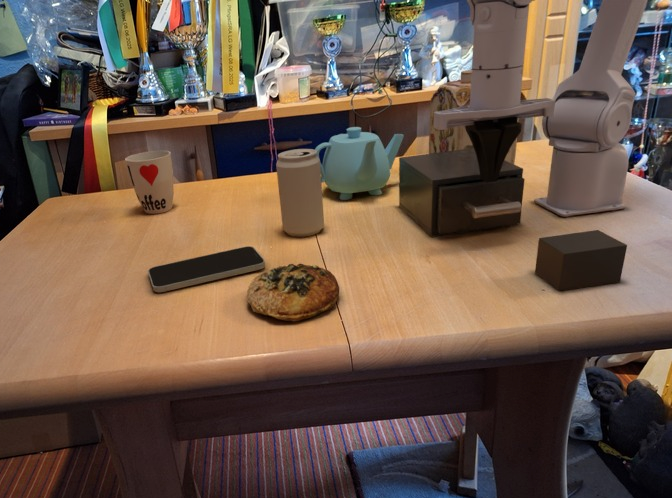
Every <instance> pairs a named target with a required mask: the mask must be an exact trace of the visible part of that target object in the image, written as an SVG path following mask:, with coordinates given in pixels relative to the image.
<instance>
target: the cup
mask: <svg viewBox="0 0 672 498" xmlns="http://www.w3.org/2000/svg"><path fill="white" fill-rule="evenodd" d="M124 161H125V165H126V169H127V172H128V176H129V177H130V179H129V180H130V182H131V185H132V187H133V190H134V192H135V193H134V194H135V196H136V197H137V201H138V202H139V203H140V206H141V207H142V210H143V211H144V212H145V213H146V214H149V215H150V214H151V215H154V214H155V215H156V214H163V213H165V212H168V211H171V210H172V208H173V204H174V203H173V202H174V193H175V191H174V190H175V189H174V187H175V186H174V171H173V162H172V161H173V160H172V154H171V151H169V150H151V151H143V152H138V153H134V154H131V155H129V156H126V157H125V158H124Z"/></svg>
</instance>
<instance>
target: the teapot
mask: <svg viewBox="0 0 672 498" xmlns="http://www.w3.org/2000/svg"><path fill="white" fill-rule="evenodd" d="M345 130H346V133H339V134H337V135H333V136H331V137H330V138H329V141H328V142H321V143H320V144H318V145H317V146H316V147H315V149H314V150H316V151H317V154H316V155H317V157H318V158H319V159H320V152H321V151H322V150H323V149H325V148H326V149H325V152H324V155H323V159H322V162H321V161H320V170H321V184H322V183H324V184H325V185H326V186H327V188H328V189H330V191H331V192H334V193H340V194H339V199H340V200H343V201H346V200H351V199H353V193H354V194H355V193H362V192H368V194H369V195H371V196H379V195H382V194H383V191H382V190H381V189H383V188H384V187H385V186H386V185H387V183H388V182H389V180H390V177H391V170H392V167H393V165H394V163H395V160H396V158H397V155H398V152H399V150H400V147H401V144H402V143H403V140H404V137H405V136H404V134H402V133H395V134H393V136H392V138H391V139H390V141H389V142H388V144H387V146H386V147H384V144H383V142H382V140H381V139H380V137H379V135H377V134H376V133H373V132H369V131H362V127H360V126H351V127H348V128H346V129H345Z"/></svg>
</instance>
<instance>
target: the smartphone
mask: <svg viewBox="0 0 672 498" xmlns="http://www.w3.org/2000/svg"><path fill="white" fill-rule="evenodd" d="M265 262H266V261H265V259H264V258H263V256H262V255H261V254H260V253H259V252H258V251H257V249H256V248H255V247H254V246H249V245H247V246H241V247H238V248H237V247H236V248H233V249H228V250H224V251H220V252H219V251H218V252H215V253H210V254H205V255H201V256H197V257H192V258H187V259H183V260H179V261H174V262H173V261H172V262H169V263H165V264H161V265H160V264H159V265H155V266H152V267H150V268H148V270H147V272H148V277H149V280H150V282H151V287H152V290H153V291H154V292H155V293H164V292H168V291H174V290H177V289H182V288H185V287H190V286H195V285H200V284H203V283H208V282H213V281H216V280H220V279H225V278H229V277H235V276H237V275H242V274H247V273H250V272H255V271H259V270H262V269H264V268H265V267H266V263H265Z"/></svg>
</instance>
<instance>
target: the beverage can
mask: <svg viewBox="0 0 672 498" xmlns="http://www.w3.org/2000/svg"><path fill="white" fill-rule="evenodd" d="M316 154H317V151H316V150H315V149H313V148H297V149H289V150H286V151H285V150H284V151H282V152H280V153H278V154H277V161H276V163H275V166H276V167H275V169H276V175H277V187H278V197H279V205H280V214H281V216H280V217H281V224H282V225H281V226H282V230H283V231H284V232H285V233H287V234H288V235H289V236H292V237H299V238H301V237H309V236H313V235H316V234H318V233H320V232H321V230H322V229H323V228H324V226H325V215H324V203H323V202H324V201H323V199H324V198H323V185H322V183H321V170H320V162H321V160H320V159H321V158H320V157H319V158H318V157H317V155H316Z"/></svg>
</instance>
